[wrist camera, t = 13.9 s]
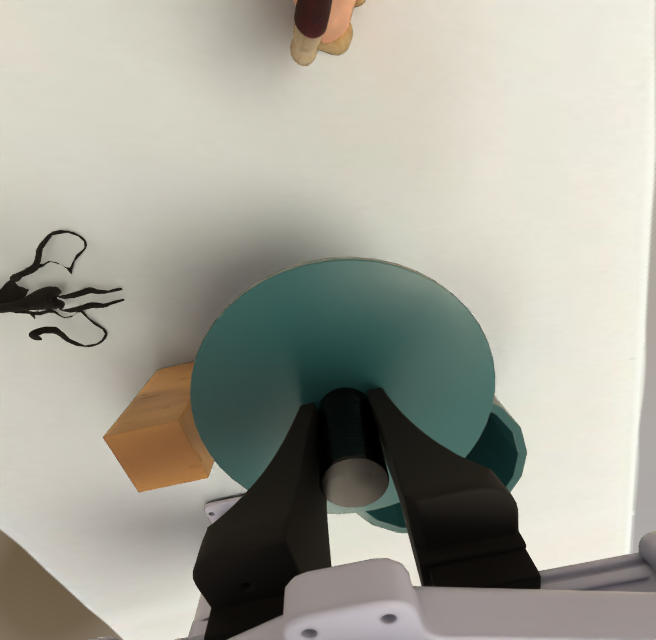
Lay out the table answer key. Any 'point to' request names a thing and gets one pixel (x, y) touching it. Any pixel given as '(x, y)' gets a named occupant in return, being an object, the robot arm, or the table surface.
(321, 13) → the grandmother figurine
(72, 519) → the table surface
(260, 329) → the pot lid
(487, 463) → the pot
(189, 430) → the maple block
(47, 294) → the creature
